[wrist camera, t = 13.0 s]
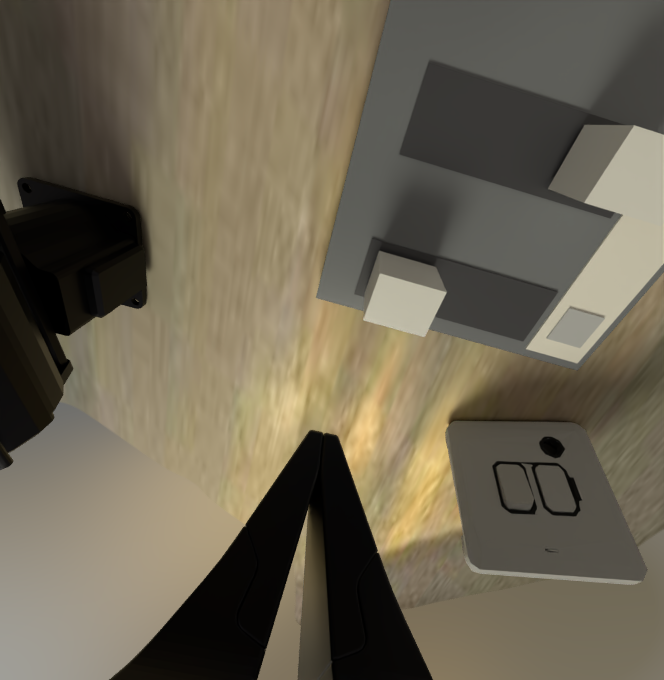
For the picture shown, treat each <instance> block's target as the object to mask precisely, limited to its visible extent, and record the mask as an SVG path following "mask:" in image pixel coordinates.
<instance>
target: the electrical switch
mask: <svg viewBox="0 0 664 680" xmlns="http://www.w3.org/2000/svg"><path fill="white" fill-rule="evenodd" d="M446 443H447V448H448V452H449V458H450V464H451V469H452V475H453V480H454V486H455V491H456V497H457V502H458V507H459V513H460V518H461V524H462V531H463V536H461V540H462V548H463V553H464V557H465V560H466V562H467V564H468V565H469V567H470V569H471V570H472V571H474V572H477V573H481V574H493V575H507V576H520V577H534V578H547V579H561V580H575V581H589V582H601V583H616V584H629V585H630V584H631V585H632V584H636V583H639V582H642V581H643V579H644V577H645V575H646V572H647V567H646V565H645V563H644V561H643V558H642V556H641V554H640V552H639V549H638V547H637V545H636V543H635V540H634V538H633V536H632V534H631V531H630V529H629V527H628V525H627V522H626V520H625V518H624V516H623V513H622V511H621V509H620V507H619V504H618V502H617V500H616V498H615V495H614V493H613V491H612V489H611V487H610V484H609V482H608V480H607V478H606V475H605V473H604V471H603V469H602V466H601V464H600V462H599V460H598V457H597V455H596V453H595V451H594V448H593V446H592V444H591V442H590V439H589V437H588V435H587V433H586V430H585V429H583V428H582V427H581V426H579V425H578V424H575V423H572V422H513V421H453V422H451V424H450V425H449V426H448V428H447V429H446Z"/></svg>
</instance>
